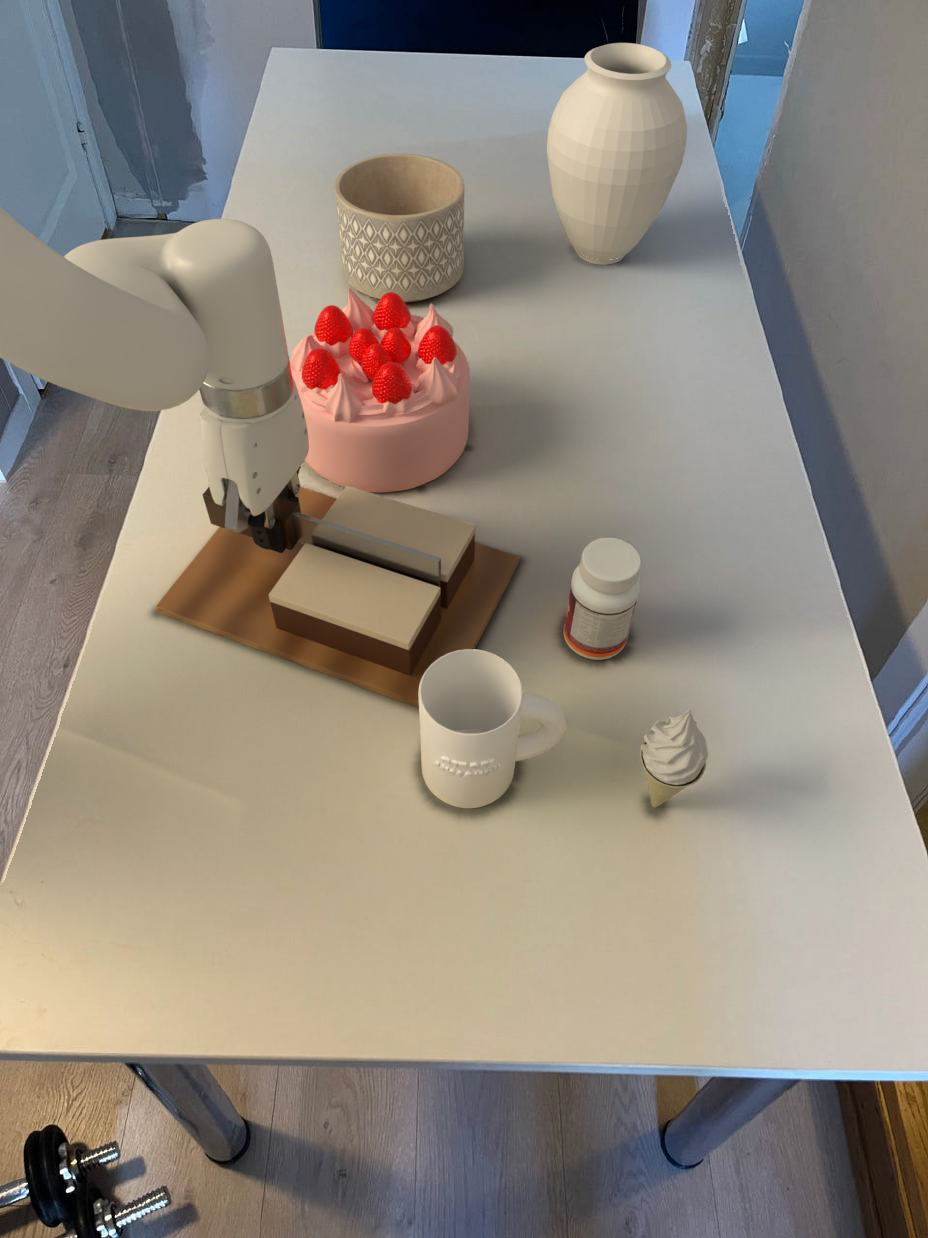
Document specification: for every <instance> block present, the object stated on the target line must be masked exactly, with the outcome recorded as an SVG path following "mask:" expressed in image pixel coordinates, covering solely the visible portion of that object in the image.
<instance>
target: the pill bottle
mask: <svg viewBox="0 0 928 1238" xmlns="http://www.w3.org/2000/svg"><path fill="white" fill-rule="evenodd" d="M641 567H642V558H641V555H640V553H639V552H638V549H636V548H635V547H634V546H633V545H632V544H630V543H629V542H628V541H626V540H623V539H620V538H617V537H600V538H597V539H595V540H592V541H590V542H589V543H587V545H586V546H585V547H584V549H583V551H582V553H581V558H580V563H579V565H577V567H576V568H575V569H574V571H573V573H572V577H571V581H570V589H569V594H568V600H567V606H566V611H565V616H564V617H565V618H564V624H563V637H564V640H565V642H566V644H567V645H568V647H569V649H571V651H573V652H574V653H575V654H577V655H578V656H580V657H583V658H586V659H589V660H594V661H603V660H608V659H610V658H613V657H615V656H617V655H619V653H620V652H622V650H623V649H624V647H625V646H626V644H627V641H628V638H629V634H630V629H631V626H632V622H633V618H634V615H635V611H636V607H637V605H638V604H637V603H638V601H639V597H640V593H641V579H640V577H639V576H640V570H641Z"/></svg>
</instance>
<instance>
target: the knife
mask: <svg viewBox="0 0 928 1238" xmlns="http://www.w3.org/2000/svg"><path fill="white" fill-rule="evenodd" d="M202 498H203V501H204V505H205V508H206V511H207V515H208V518H209V522H210V524H211V525H213V526H216V527H218V528H219V527H222V528H225V515H226V502H225V503H224V505H223V506H221V505H218V504H216V503H215V502H214V500H213V497H212V494H211V491H210V487H209V486H208V487H207V488H206V490H205V491H204V492H203V493H202ZM273 508H274V514H275V519H276V520H278V521H280V523H281V527H282V532H283V537H284V542H285V547H286V549H288V550H292V549H293V548H294V546H295V545H296V544H297V542H298V543H301V544H305V543H308V544H311V545H314V546H317V547H320V548H323V549H326V550H329V551H332V552H335V553H338V554H341V555H344V556H347V557H350V558H353V559H356V560H359V561H362V562H365V563H368V564H371V565H374V566H377V567H380V568H383V569H386V570H389V571H392V572H395V573H398V574H401V575H404V576H407V577H410V578H413V579H416V580H419V581H422V582H425V583H428V584H431V585H434V586H438V587H440V586H441V558H439V557H436V556H433V555H430V554H426V553H423V552H420V551H417V550H414V549H411V548H408V547H405V546H402V545H398V544H395V543H392V542H389V541H386V540H383V539H380V538H377V537H373V536H370V535H367V534H364V533H361V532H358V531H355V530H352V529H349V528H345V527H342V526H339V525H336V524H333V523H330V522H327V521H324V520H320V519H317V518H314V517H311V516H308V515H305V514H302V513H301V511H300V506H299V503H296V502H293V501H290V500H286V499H283V498H280V497H277V498H276V499H275V500H274V501H273ZM240 534H243V535H246V536H249V537H252V538H253V536H252V532H251V528H250V527H248V529H246V530H244V531H242V532H241V533H240Z"/></svg>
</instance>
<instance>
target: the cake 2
mask: <svg viewBox="0 0 928 1238" xmlns="http://www.w3.org/2000/svg"><path fill="white" fill-rule="evenodd" d="M336 498H337V499H336V501H335V502H334V504H333V505H332V506H331V508H330V509H329V511H328V512H327V513H326V515H325V516H324V518H323V519H322V520H324V521H327V522H330V523H333V524H336V525H339V526H342V527H345V528H349V529H352V530H355V531H358V532H361V533H364V534H367V535H370V536H373V537H377V538H380V539H383V540H386V541H389V542H392V543H395V544H398V545H402V546H405V547H408V548H411V549H414V550H417V551H420V552H423V553H426V554H430V555H433V556H436V557H439V558H441V586H440V590H441V594H440V595H441V607H443V608H446V609H447V608H448V607H449V605H450V603H451V601H452V599H453V598H454V596H455V594H456V592H457V590H458V589H459V587H460V585H461V583H462V581H463V579H464V578H465V576H466V574H467V572H468V570H469V568H470V567H471V565H472V563H473V561H474V556H475V542H476V528H477V526H476V524H473V523H471V522H470V523H469V522H466V521H463V520H460V519H457V518H453V517H450V516H447V515H443V514H440V513H438V512H434V511H431V510H427V509H425V508H421V507H418V506H414V505H411V504H408V503H405V502H402V501H399V500H395V499H393V498H389V497H387V496H383V495H379V494H376V493H374V492H367V491H363V490H360V489H357V488H354V487H351V486H347V485H346V487H343V489H342V491H341V492H340V494H339V495H338V497H336Z"/></svg>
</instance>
